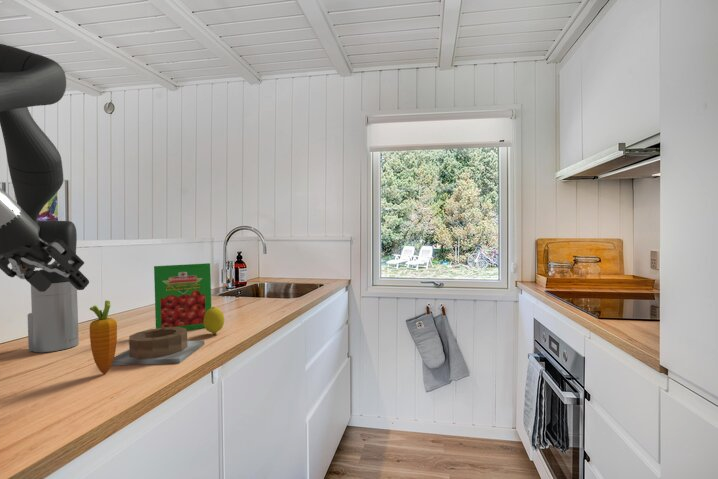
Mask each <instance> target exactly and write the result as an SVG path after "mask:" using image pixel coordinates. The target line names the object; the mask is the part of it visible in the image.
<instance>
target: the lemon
mask: <svg viewBox="0 0 718 479" xmlns="http://www.w3.org/2000/svg"><path fill="white" fill-rule="evenodd" d="M224 324H225V315H224V313H223V311H222V310H221V309H220V308H218V307H216V306H211V309H209V310H208V311H207V312H206V313H205V316H204V327H205V328H204V329H205V330H206V331H207V332H209V333H211V334H213V335H216V334H217V333H218V332H219V331H221V330H222V329H223V326H224Z"/></svg>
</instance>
